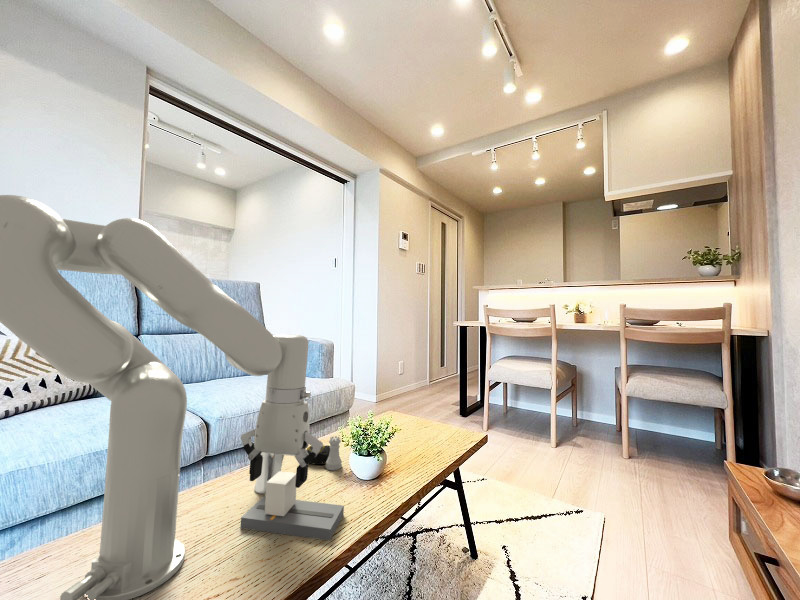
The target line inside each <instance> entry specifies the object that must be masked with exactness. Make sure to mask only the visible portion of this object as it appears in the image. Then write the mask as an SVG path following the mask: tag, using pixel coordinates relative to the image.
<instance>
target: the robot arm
mask: <svg viewBox="0 0 800 600" xmlns="http://www.w3.org/2000/svg"><path fill="white" fill-rule="evenodd" d="M59 271H64V272H65V271H69V272H78V273H79V272H80V273H89V274H90V273H91V274H101V275H116V276H117V275H118V276H119V275H120V276H122V277H124V278H125V279H126V280H127V281H128V282H130V283H131V284H132V285H133V286H134V287H136V288H137V289H138V290H139V291H140V292H142V293H143V294H144V295H145V296H146V297H148V298H149V299H150V300H151V301H152V302H153V303H154V304H156V305H157V306H158V307H159V308H161V309H162V311H164V312H165V313H166V314H167V315H169V316H170V317H172V319H175V320H176V322H178V323H180V324H182V325H184V326H186V327H188V328H189V329H192V330H193V331H195V333H196V332H197V333H198V334H200V335H201V336H202V337H204V338H205V339H206V340H208V341H209V342H210V343H212V344H213V345H214V346H215V347H216V348H217V349H219V350H220V351H221V352H222V353H224V357H225V358H226V361H227V362H228V363H229V364H230V365H231V366H233V367H234V368H235V369H237V370H239V371H242V372H244V373H245V374H247V375H251V376H254V377H262V376H266V375H267V378H266V379H267V380H266V390H265V399H263V401H262V402H261V405H260V409H259V412H258V415H257V419H256V425H255V428H253V429H251V430H249V431H247V432H245V433H242V434H241V435H240V440H241V442H242V445H243V448H242V449H243V450H244V452H245V453H246V454H247V460H249V461H250V462H249V463H250V464H249V472H248V473H249V482H254V481H256V480H257V478H258V477H259V476H261V473H262V462H263V457H262V456H263V455H261V453H262V452H264V453H272V454H279V455H284V456H291V457H294V458H295V459H296V462H297V463H298V466H296V470H295V471H296V472H295V473H296V483H295V487H296V489H300V488H301V487H302V485H303V484H304V483H305V482H306V481H307V480H308V476H309V474H308V472H309V464H310V463H309V462H310V461H311V460H312V459H314V458H315V457H316V456H317V454H318V452H319V451H320V449H321V448H322V446H323V445H324V443H323V442H322V441H321V440H319V439H318V438H316V437H315V436H314V435H313V434H311V433H310V411H309V403H308V401H307V400H306V399H310V398H311V395H312V394H311V391H309V390H307V389H306V388H307V387H306V377H307V367H308V357H309V356H308V355H309V339H308V338H307V337H306V336H304V335H301V334H275V335H273V333H271V332H270V331H269V330H268V329H267V328H266V327H265V326H264V325H263V324H262V323H261V322H260V321H259V320H258V319H257V318H255V317H254V315H252V313H251V312H249V311H247V310H246V308H244V307H243V306H241V305H240V304H239V303H238V302H237V301H236V300H234V299H233V298H232V297H230V295H228V294H227V293H226V292H224V290H222V289H221V288H220V287H218V286H217V285H216V284H214V283H213V281H211V280H210V279H209V278H208V277H207V276H206V275H205V274H204V273H203V272H202V271H200V269H198V267H196V266H195V265H194V264H193V263H192V262H191V260H189V259H188V258H187V257H185V255H184V254H182V253H181V252H180V250H178V248H176V247H175V246H174V245H173V244H172V243H171V242H170V241H169V240H168V239H167V238H166V237H165V236H164V235H163V234H161V232H159V231H158V230H157V229H156V228H155V227H153V226H152V225H151V224H149V223H148V222H145V221H143V220H141V219H138V218H131V217H130V218H129V217H127V218H126V217H124V218H119V219H116V220H113V221H111V222H109V223H108V224H107V225H104V224H98V223H97V224H96V223H89V222H81V221H77V220H70V219H66V218H61V216H60V215H59V214H58V213H57V212H56V211H55V210H53V209H52V208H50V207H49V206H47V205H46V204H44V203H42V202H40V201H39V200H34V199H32V198H29V197H26V196H22V195H21V196H20V195H17V194H16V195H14V194H2V195H1V194H0V323H1V324H2V325H3V326H5V328H6V329H8V330H9V331H10V332H12V334H13V335H14V336H15V337H17V338H18V339H19V340H20V341H22V342H23V343H24V344H25V345H27V346H28V347H29V348H30V349H32V350H33V351H34V352H35V353H36V354H38V355H39V356H40V357H41V358H43V359H44V360H45V361H46V362H48V363H49V364H50V365H51V366H52V367H53V368H54V369H55V370H56V371H57V372H58V373H60V374H61V375H62V376H64V377H65V378H66V379H69V380H72V381H75V382H80V383H85V384H86V383H87V384H88V385H90V386H91V387H93V388H94V389H95V390H96V391H98V392H99V393H100V394H101V395H102V396H104V397H105V398H107V400H109V401H110V411H109V424H108V425H109V428H108V442H107V455H106V466H105V480H104V481H105V482H104V483H105V485H104V495H103V509H102V519H101V520H102V522H101V533H100V543H99V545H100V547H99V556H97V557H96V558H94V559H93V560H91V566H90V567H91V569H90V570H89V571H88V572H87V573H86V574H85V576H84V578H83V579H81V580H80V581H78V582H76V583H75V584H73V585H72V586H71V587H69V588H68V589H66V590H65V591H63V592H62V593H61V595H60V598H59V599H60V600H79V599H81V598H82V597H84V594H86V595H88V598H89V599H90V600H94V599H96V600H132V598H133V599H135V598H138V597H140V596H143V595H144V594H147V593H149V592H152V591H153V590H155V589H156V588H158V587H159V586H162V584H164V583H166V582H167V581H168V580H170V578H172V576H175V574H176V573H177V572H178V571H179V570H180V569H181V568H182V565H183V564H184V561H185V557H186V556H185V555H186V548H185V545H184V544H183V543H182V542H181V541H179V540H178V539H176V530H177V529H176V528H177V517H178V503H179V501H178V500H179V488H180V487H179V486H180V476H181V473H180V471H181V455H182V443H183V433H184V429H185V428H184V427H185V420H186V415H187V407H188V406H187V405H188V404H187V403H188V400H187V399H188V398H187V392H186V387H185V386H184V383H183V381H182V380H181V379H180V378H179V377H178V375H177V374H175V373H174V372H173V371H172V370H171V369H170V368H169V367H168V366H167V365H166V364H165V363H164V362H163V361H162V360H160V358H159V357H157V356H156V355H155V354H154V353H153V352H152V351H151V350H149V348H148V347H147V346H146V345H145V344H143V343H142V342H141V341H140V340H139V339H137V337H136V336H134V334H132V333H131V332H130V330H128V329H127V328H126V327H124V325H122V324H121V323H119V322H116V321H114V320H111V319H110V318H108V317H107V316H105V314H103V313H102V312H101V311H100V310H99V309H98V308H96V307H95V306H94V305H93V303H91V302H90V301H89V300H88V299H86V297H85V296H84V295H82V293H81V292H80V291H79V290H78V289H77V288H75V287H74V285H72V284H71V283H70V282H69V281H68V280H67V279H66V278H65V277H64V276H63V275H62V274H61V273H60V272H59ZM305 400H306V401H305ZM253 437H254V439H253V442H252V438H253ZM309 445H310V446H312V447H313V449H312V451H311V453H310V454H308V452H307V448H308V447H309Z"/></svg>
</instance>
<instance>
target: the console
mask: <svg viewBox="0 0 800 600" xmlns="http://www.w3.org/2000/svg"><path fill="white" fill-rule="evenodd" d="M265 499H266V495H263V496H262V497H261V498H259V500H258V501H257V502H255V504H254V505H253V506H252V507H250V509H248V510H247V511H246V512H245V513H244V514H243V515H242V516H241V517H240V529H241V530H242V529H243V530H250V531H257V532H258V531H259V532H264V533H265V532H266V533H272V534H280V535H285V536H294V537H301V538H309V539H316V540H324V541H331V540H332V537H333V536H334V534H335V532H336V530H337V529H338V527H339V525H340V523H341V521H342V519H343V517H344V513H345V512H344V511H345V506H344V505H341V504H334V503H333V504H332V503H324V502H317V501H308V500H301V499H300V500H299V499H296V503H295V504H294V505H293V506H292V507H291V509H290V510H289V511H288V512H287V513H286V514H285V516H277V515H269V514H265Z"/></svg>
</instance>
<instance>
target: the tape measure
mask: <svg viewBox="0 0 800 600" xmlns="http://www.w3.org/2000/svg"><path fill="white" fill-rule="evenodd" d="M329 447H330V445H324V444H323V446H322V448H321V449H320V451H319V452H318V454H317V456H316V457H315V458H314V459H312V460H311V461H310V462H309V463H308V464H312V465H320V464H326V461H327V460H328V457H329V453H330V448H329ZM312 449H313V447H312V446H311V445H310V446H308V447H307V448H306V450H307V452H308V454H310V453H311V451H312Z"/></svg>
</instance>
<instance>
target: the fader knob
mask: <svg viewBox="0 0 800 600" xmlns="http://www.w3.org/2000/svg"><path fill="white" fill-rule="evenodd" d="M295 483H296V472H292V471H282V470H281V471H279V472H278V473H276V474H275V475H274V476H273V477H272V478H271V479H270V480H269V481H267V482H266V494H265V496H266V499H265V514H269V515H277V516H285V514H286V513H287V512H288V511H289V510H290V509H291V507H292V506H293V505H294V504H295V503H296V500H297V488H296V487H295Z"/></svg>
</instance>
